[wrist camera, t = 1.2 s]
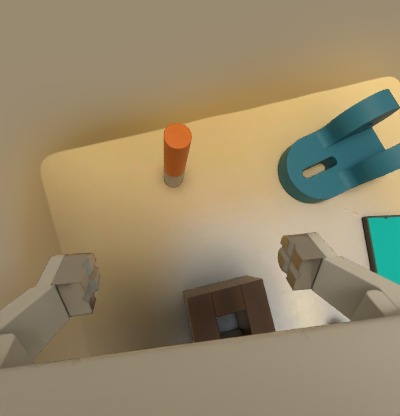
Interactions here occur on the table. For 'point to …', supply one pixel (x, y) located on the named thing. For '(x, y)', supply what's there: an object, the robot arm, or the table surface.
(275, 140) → the table surface
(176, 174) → the orange cylinder rod
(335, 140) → the camera mount
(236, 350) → the robot arm
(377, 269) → the smartphone
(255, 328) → the pen stand
